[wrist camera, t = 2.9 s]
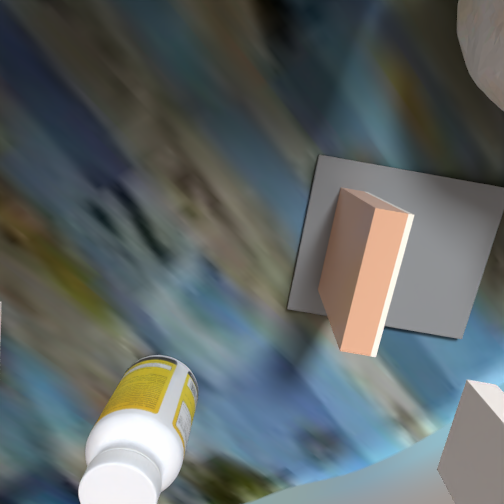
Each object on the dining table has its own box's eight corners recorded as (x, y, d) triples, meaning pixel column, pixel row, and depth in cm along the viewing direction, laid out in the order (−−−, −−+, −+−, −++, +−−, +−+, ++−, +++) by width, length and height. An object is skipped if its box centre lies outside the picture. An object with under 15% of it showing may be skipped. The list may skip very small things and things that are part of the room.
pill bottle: (109, 372, 36) (39, 476, 25) (174, 338, 35) (132, 431, 24) (150, 431, 37) (101, 555, 26) (214, 400, 36) (192, 516, 25)
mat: (287, 306, 34) (287, 309, 34) (318, 154, 31) (319, 154, 31) (459, 336, 34) (461, 339, 34) (506, 188, 31) (510, 188, 31)
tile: (317, 289, 33) (339, 350, 23) (340, 187, 31) (375, 207, 21) (343, 294, 33) (375, 357, 24) (367, 192, 31) (414, 214, 22)
